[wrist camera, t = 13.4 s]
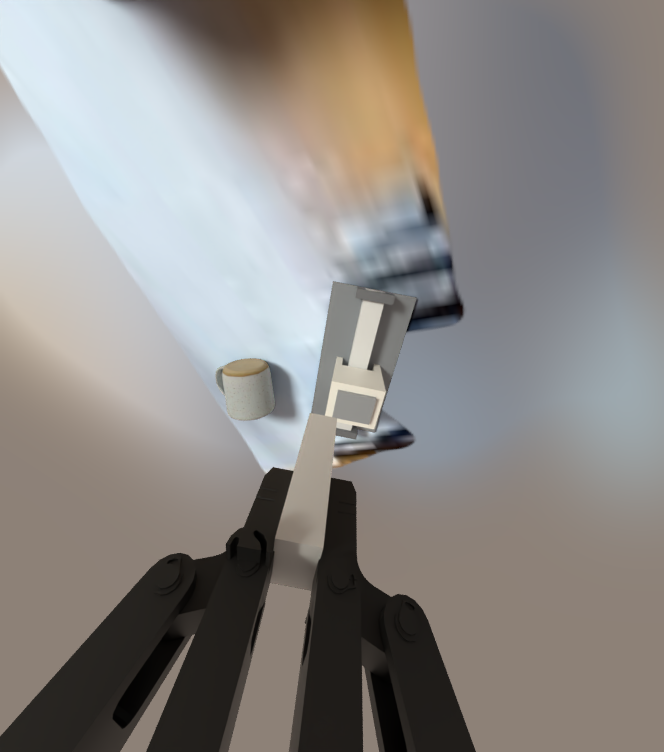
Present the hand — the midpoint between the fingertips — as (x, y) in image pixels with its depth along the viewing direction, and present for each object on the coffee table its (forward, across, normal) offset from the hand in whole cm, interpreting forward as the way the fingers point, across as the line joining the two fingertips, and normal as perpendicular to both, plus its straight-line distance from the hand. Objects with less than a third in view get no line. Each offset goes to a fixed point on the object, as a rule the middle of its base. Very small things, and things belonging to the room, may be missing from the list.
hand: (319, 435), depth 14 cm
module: (+26, +4, -9) cm, 27 cm away
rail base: (+26, +4, -7) cm, 27 cm away
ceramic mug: (+27, -14, -13) cm, 33 cm away
